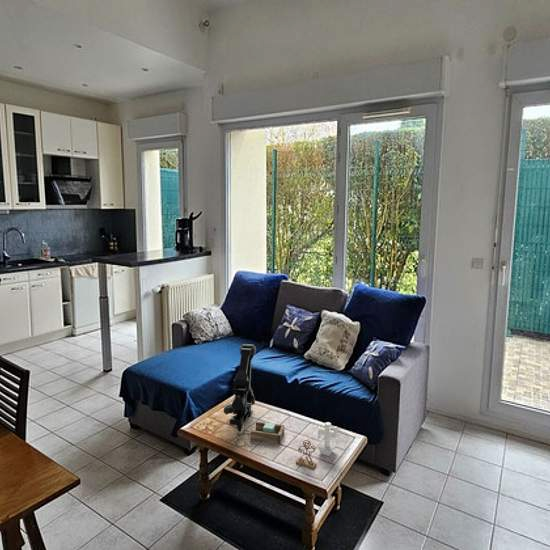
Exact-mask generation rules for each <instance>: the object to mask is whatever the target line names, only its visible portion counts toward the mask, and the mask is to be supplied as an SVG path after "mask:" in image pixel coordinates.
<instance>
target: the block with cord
mask: <svg viewBox="0 0 550 550" xmlns="http://www.w3.org/2000/svg"><path fill="white" fill-rule="evenodd" d="M275 424H276V423H271V422H265V425H264V427H263V431H262V432H267V433H274V434H276V433H275ZM237 434H238V435H243V434H247V435H248V434H249V435H251V431H245V424H243V427H242V429H241V431H240V432H239V431H238V430H237Z"/></svg>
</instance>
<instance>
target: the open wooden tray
mask: <svg viewBox="0 0 550 550" xmlns="http://www.w3.org/2000/svg"><path fill="white" fill-rule="evenodd" d="M265 423H266V422H265V421H257V420H256V421H255V430H254V429H253V430H252V429H251V430H250V432H251V434H250V440H251V441H257V442H264V443H271V444H275V445H280V444H281V443H282V440H283V437H284V435H285V424H278V423H274V424H275V434H274V433H267V432H263V427H264V425H265Z"/></svg>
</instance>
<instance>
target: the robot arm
mask: <svg viewBox="0 0 550 550" xmlns="http://www.w3.org/2000/svg"><path fill="white" fill-rule="evenodd" d="M256 347H257V346H255V345H254V343H253V344H252V343H251V344H250V343H249V344H248V343H243V344H242V345H240V346H239V354H240V360H239V361H240V362H239V367H238V368H239V369H238V372H236V374H235V377H234V379H233V383H232V391H231V394H233V395H234V397H233V400H232V401H231V402H232V403H229V404H227V405H225V406H224V408H223V413H224V414H225V416H226V415H230V414H233V415H232V416H231V417H230V419H229V420H228V423H229V425H231V426H236V428H237V432H238V431H239V432H240V431H241V429H242V427H243V424H244V425H245V423H246V421H247V419H248V417H251V416H252V414H253V412H254V410H252V406H254V405H255V404H256V397H255V395H254V393H253V392H254V390H253V388H252V386H251V379H252V375H251V374H252V361H253V358H254V357H255V354H256V350H257V348H256Z"/></svg>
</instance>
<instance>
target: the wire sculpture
mask: <svg viewBox="0 0 550 550" xmlns="http://www.w3.org/2000/svg"><path fill="white" fill-rule="evenodd" d="M302 444H303V445H300V446H299V447H298V449H297V451H298V453H300V454H301V453H302V455H301V457H298V459H297V460H296V461H295V465H298V466H299V467H300V466H301V467H303V468H307V469H310V470H313V471H314V470H315V469H316V468H317V463H316V462H313V460H312V458H311V453H314V452H315V451H316V446H315V445H312V444H311V441H310V440H309V439H304V440H303V441H302ZM301 447H303V448H302V449H301ZM311 449H312V451H311ZM304 455H305V457H304V458H303V456H304ZM309 459H310V460H309Z"/></svg>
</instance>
